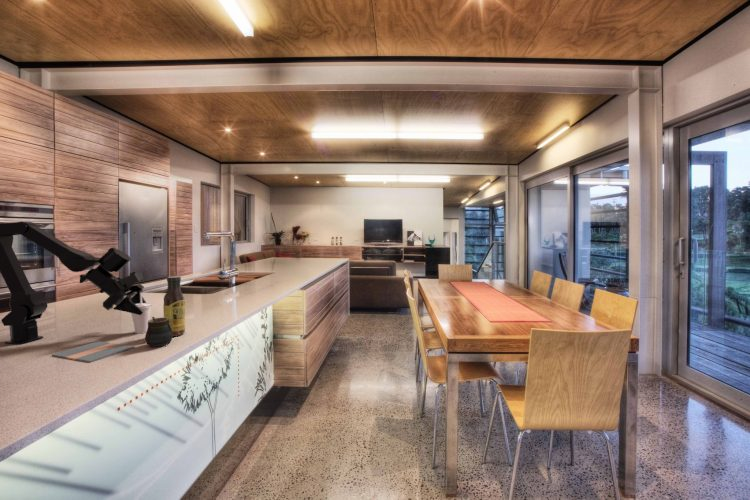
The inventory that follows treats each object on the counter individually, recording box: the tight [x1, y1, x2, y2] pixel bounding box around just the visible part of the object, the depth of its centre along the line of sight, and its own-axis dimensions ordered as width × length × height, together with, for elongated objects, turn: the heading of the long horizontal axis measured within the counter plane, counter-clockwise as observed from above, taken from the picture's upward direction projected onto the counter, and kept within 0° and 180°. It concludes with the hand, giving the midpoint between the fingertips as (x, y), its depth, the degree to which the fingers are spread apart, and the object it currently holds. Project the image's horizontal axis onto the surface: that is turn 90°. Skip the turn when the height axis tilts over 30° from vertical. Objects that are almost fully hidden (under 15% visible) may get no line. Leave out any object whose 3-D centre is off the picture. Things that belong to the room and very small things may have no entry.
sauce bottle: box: [163, 275, 186, 337], centre depth 114 cm, size 6×6×20 cm
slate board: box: [51, 340, 136, 364], centre depth 99 cm, size 16×12×1 cm
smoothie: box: [131, 291, 152, 335], centre depth 117 cm, size 6×6×14 cm
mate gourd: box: [144, 316, 174, 348], centre depth 104 cm, size 7×8×10 cm
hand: (145, 311), depth 118 cm, fingers closed on smoothie, 6 cm apart
